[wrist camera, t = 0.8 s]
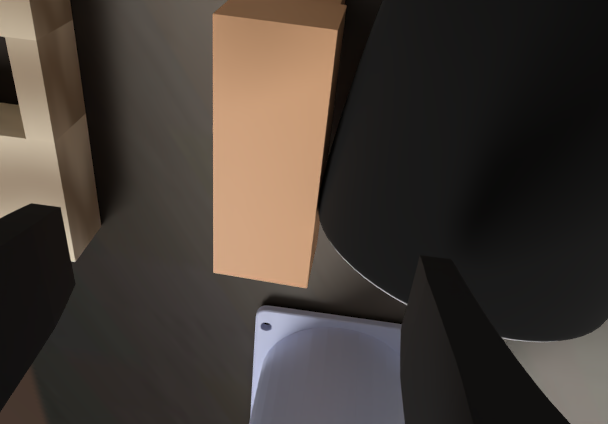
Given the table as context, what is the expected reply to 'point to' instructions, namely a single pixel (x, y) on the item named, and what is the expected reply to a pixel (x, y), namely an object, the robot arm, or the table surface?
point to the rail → (46, 120)
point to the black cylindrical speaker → (481, 158)
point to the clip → (272, 133)
